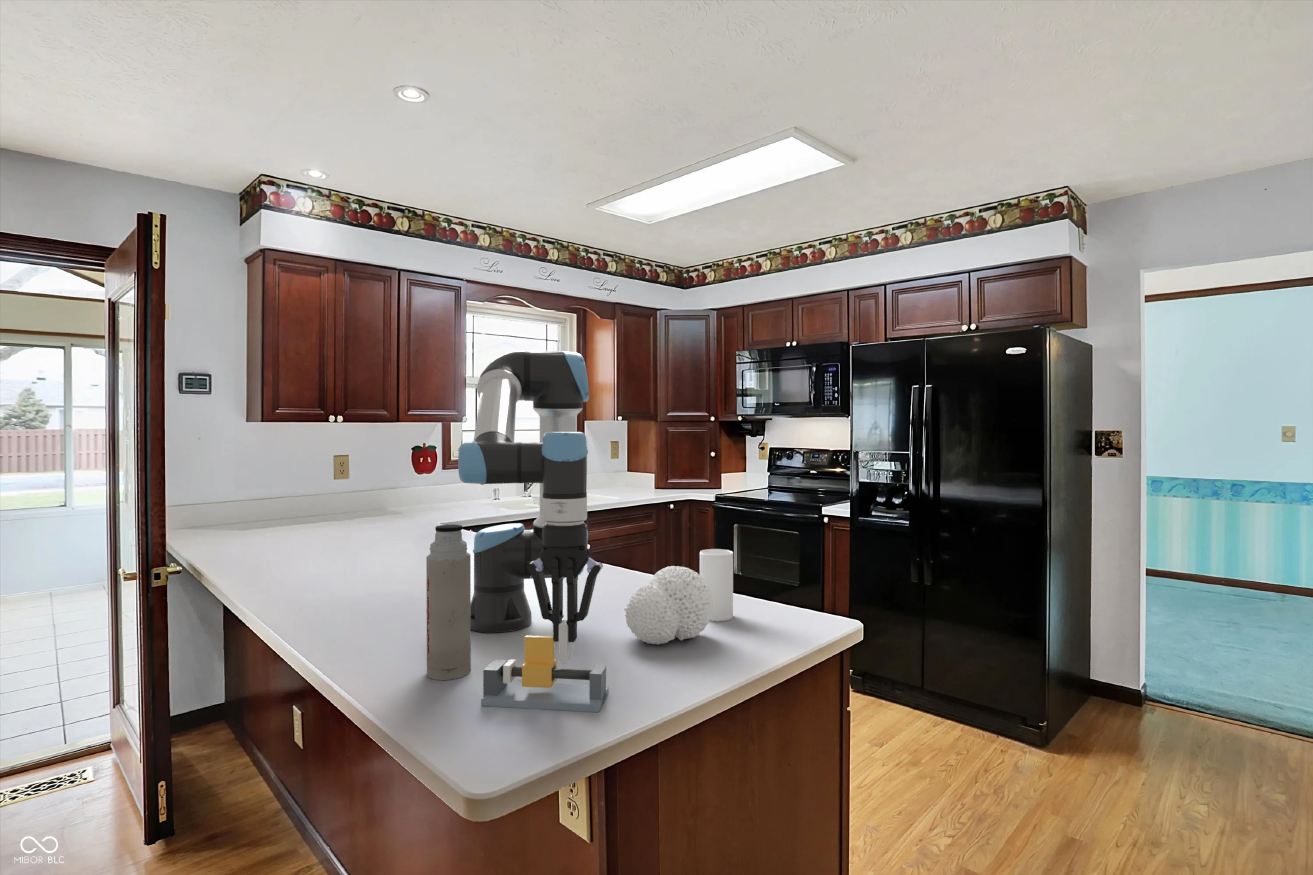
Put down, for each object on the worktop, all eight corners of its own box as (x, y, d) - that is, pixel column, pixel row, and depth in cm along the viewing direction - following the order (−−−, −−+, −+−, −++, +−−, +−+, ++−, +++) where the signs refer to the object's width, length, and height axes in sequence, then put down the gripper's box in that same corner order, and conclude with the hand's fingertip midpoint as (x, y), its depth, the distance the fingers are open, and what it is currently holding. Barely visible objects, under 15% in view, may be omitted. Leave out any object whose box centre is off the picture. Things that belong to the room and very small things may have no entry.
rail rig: (480, 705, 111) (479, 669, 111) (497, 687, 119) (497, 653, 119) (598, 712, 109) (598, 675, 109) (608, 692, 117) (608, 658, 117)
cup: (731, 621, 160) (731, 555, 160) (697, 619, 162) (697, 554, 162) (734, 612, 168) (734, 549, 168) (701, 611, 170) (702, 548, 170)
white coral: (682, 584, 162) (679, 539, 151) (732, 631, 151) (732, 587, 140) (615, 631, 153) (607, 587, 143) (663, 685, 142) (658, 641, 132)
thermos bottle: (421, 680, 122) (421, 528, 122) (432, 665, 130) (432, 522, 130) (466, 679, 123) (465, 528, 123) (474, 664, 131) (473, 522, 131)
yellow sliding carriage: (522, 686, 113) (521, 639, 113) (528, 678, 116) (528, 632, 116) (550, 687, 112) (550, 640, 112) (556, 679, 116) (556, 633, 116)
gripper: (520, 524, 110) (521, 666, 111) (597, 525, 109) (598, 669, 109) (534, 518, 118) (534, 651, 118) (606, 519, 116) (606, 654, 117)
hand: (565, 660), depth 114 cm, fingers closed
